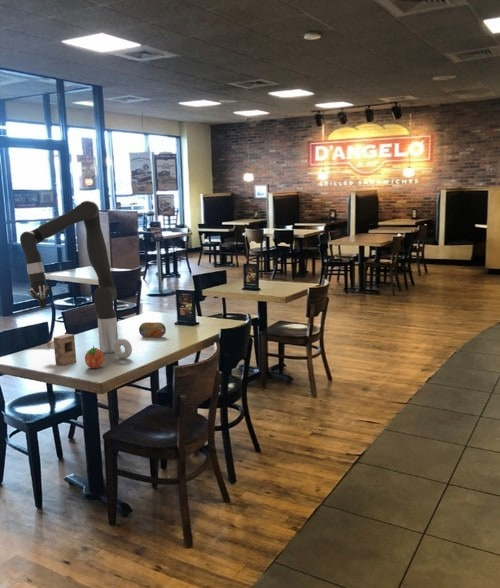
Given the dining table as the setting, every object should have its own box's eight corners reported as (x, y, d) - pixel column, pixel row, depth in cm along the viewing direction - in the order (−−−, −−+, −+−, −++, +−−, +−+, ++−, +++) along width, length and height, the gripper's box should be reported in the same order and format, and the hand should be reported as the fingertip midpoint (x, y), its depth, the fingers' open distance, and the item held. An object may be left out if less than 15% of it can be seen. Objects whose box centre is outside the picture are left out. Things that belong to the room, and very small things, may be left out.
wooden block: (55, 364, 272) (53, 337, 270) (68, 360, 279) (66, 333, 277) (63, 365, 270) (60, 338, 268) (76, 361, 277) (74, 334, 274)
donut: (112, 358, 279) (111, 338, 278) (116, 357, 282) (115, 336, 281) (129, 360, 275) (128, 339, 274) (134, 358, 278) (132, 338, 277)
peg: (47, 349, 276) (46, 341, 276) (54, 347, 280) (53, 339, 279) (60, 351, 272) (60, 343, 271) (67, 349, 275) (66, 341, 275)
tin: (139, 337, 322) (138, 322, 320) (141, 336, 325) (140, 321, 323) (164, 338, 318) (163, 323, 317) (166, 336, 321) (166, 321, 320)
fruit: (107, 364, 270) (106, 343, 268) (101, 370, 260) (99, 348, 258) (89, 365, 270) (87, 343, 268) (82, 371, 261) (80, 349, 259)
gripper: (29, 273, 276) (37, 309, 278) (52, 269, 287) (59, 304, 289) (19, 275, 280) (27, 310, 282) (42, 271, 291) (48, 305, 293)
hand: (43, 307), depth 285 cm, fingers closed
